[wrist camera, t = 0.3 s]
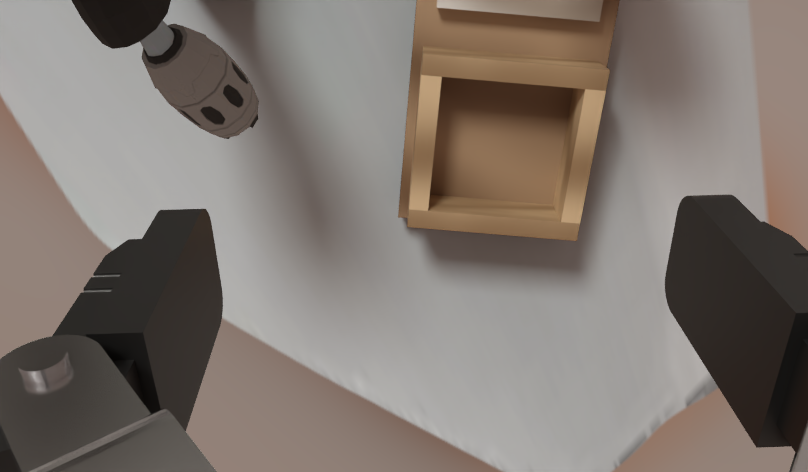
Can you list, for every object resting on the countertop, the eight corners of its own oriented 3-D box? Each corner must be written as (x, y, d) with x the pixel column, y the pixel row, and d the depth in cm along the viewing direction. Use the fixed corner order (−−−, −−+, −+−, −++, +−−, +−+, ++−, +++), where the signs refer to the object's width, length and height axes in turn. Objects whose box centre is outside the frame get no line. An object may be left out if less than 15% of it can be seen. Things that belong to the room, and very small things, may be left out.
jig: (424, -95, 36) (425, -97, 32) (626, -77, 36) (649, -76, 32) (399, 207, 42) (397, 234, 38) (569, 221, 42) (584, 250, 38)
